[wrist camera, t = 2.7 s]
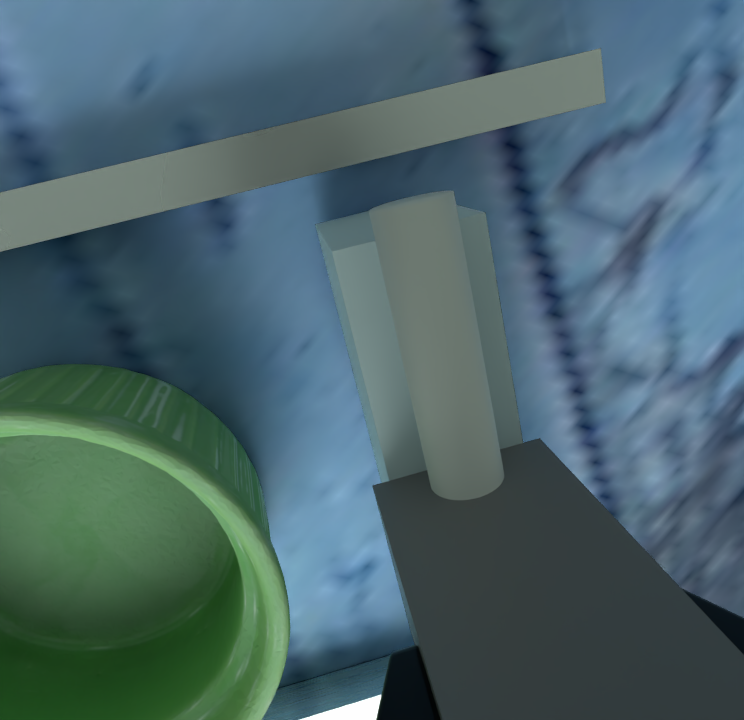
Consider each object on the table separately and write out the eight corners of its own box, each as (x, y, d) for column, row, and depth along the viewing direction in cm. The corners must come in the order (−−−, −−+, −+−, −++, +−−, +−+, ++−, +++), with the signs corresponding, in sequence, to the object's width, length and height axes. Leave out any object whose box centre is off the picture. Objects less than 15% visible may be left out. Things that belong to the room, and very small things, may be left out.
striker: (434, 168, 13) (1040, 216, 3) (517, 615, 17) (892, 1322, 7) (294, 203, 13) (379, 399, 3) (412, 648, 17) (632, 1427, 7)
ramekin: (347, 563, 17) (373, 698, 12) (49, 720, 17) (-25, 906, 13) (157, 264, 13) (105, 311, 9) (-207, 458, 14) (-416, 590, 9)
